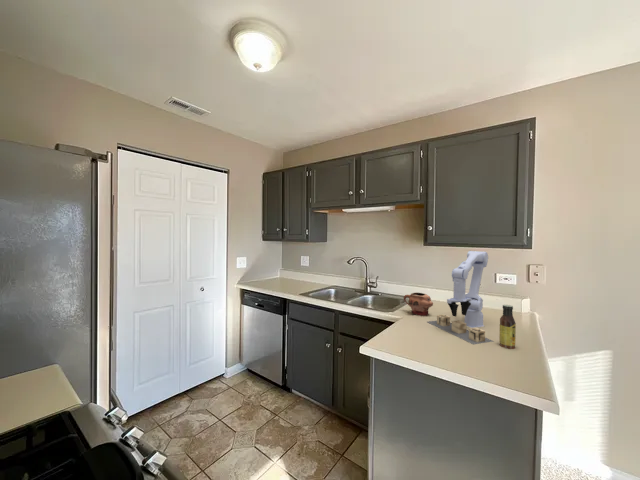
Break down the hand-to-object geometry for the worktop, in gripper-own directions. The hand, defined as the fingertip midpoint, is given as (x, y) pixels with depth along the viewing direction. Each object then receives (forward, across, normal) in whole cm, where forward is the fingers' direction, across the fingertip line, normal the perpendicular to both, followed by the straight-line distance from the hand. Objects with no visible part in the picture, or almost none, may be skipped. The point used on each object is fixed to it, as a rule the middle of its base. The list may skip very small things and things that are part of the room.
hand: (459, 315), depth 145 cm
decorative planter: (+10, 0, +34) cm, 36 cm away
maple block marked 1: (+9, 0, +12) cm, 14 cm away
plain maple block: (+9, 0, 0) cm, 9 cm away
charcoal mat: (+9, 0, +2) cm, 10 cm away
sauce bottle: (+10, +8, -22) cm, 25 cm away
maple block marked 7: (+9, 0, -12) cm, 14 cm away
